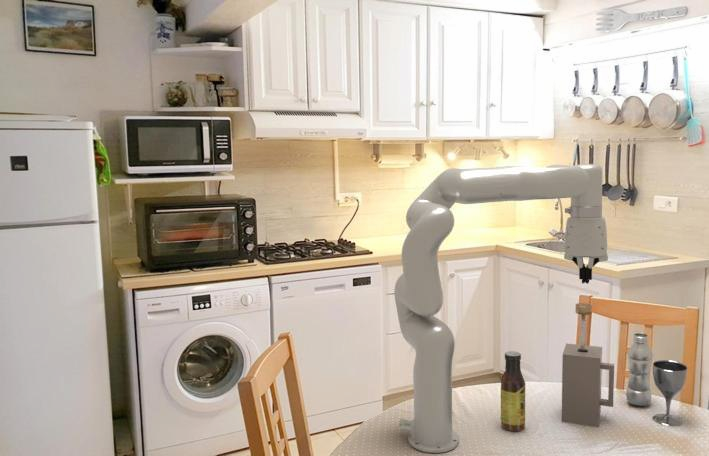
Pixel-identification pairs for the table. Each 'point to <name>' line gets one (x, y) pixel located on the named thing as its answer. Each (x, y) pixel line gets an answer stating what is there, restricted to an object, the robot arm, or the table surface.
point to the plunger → (583, 321)
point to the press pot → (584, 385)
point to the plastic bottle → (639, 371)
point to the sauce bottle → (512, 394)
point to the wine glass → (669, 387)
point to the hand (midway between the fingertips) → (585, 282)
